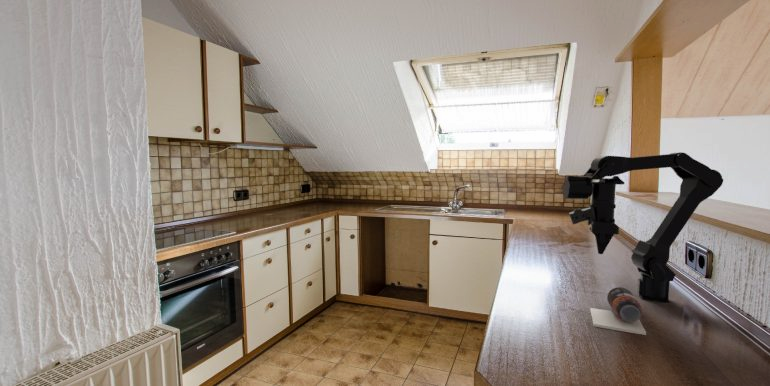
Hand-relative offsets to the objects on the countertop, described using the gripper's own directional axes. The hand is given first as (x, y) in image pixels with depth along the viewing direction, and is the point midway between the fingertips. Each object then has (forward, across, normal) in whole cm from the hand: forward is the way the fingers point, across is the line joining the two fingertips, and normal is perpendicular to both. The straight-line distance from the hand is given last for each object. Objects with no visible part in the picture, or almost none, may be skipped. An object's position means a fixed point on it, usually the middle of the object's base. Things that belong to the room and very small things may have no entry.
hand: (600, 253), depth 107 cm
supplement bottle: (+8, +12, +4) cm, 16 cm away
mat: (+12, +20, +2) cm, 24 cm away
